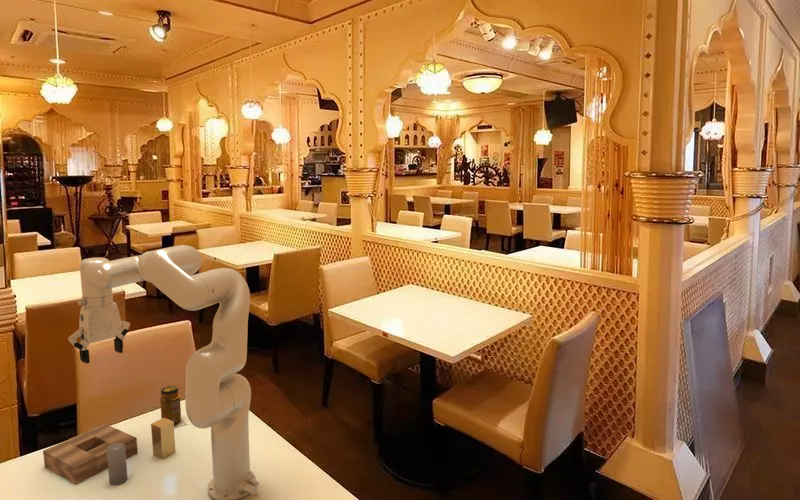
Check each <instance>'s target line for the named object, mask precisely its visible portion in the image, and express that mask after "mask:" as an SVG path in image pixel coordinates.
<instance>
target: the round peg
mask: <svg viewBox="0 0 800 500" xmlns="http://www.w3.org/2000/svg"><path fill="white" fill-rule="evenodd" d="M107 460H108V468H107V470H108V481H109V485H111V486H120V485H122V484H124V483H126V482H127V481H128V479H129V477H128V465H127V459H126V453H125V444H124V443H115V444H112V445H110V446H108V447H107Z"/></svg>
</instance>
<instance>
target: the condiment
mask: <svg viewBox="0 0 800 500" xmlns="http://www.w3.org/2000/svg"><path fill="white" fill-rule="evenodd" d="M159 403H160V416H161V417H160V419H162V418H166V419H169V420H171V421H174V429H176V428H179V427H183V426H185V425H187V422H186V421H185V420H184V418H183V417H182V410H181V409H182V407H181V395H180V394H179V388H178V386H176V385H167V386H165V387H164V386H163V388H161V390H160V399H159Z"/></svg>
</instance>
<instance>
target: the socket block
mask: <svg viewBox="0 0 800 500" xmlns="http://www.w3.org/2000/svg"><path fill="white" fill-rule="evenodd" d="M137 440H138V439H137V437H136V436H133V435H131V434H129V433H127V432H125V431H122V430H120V429H118V428H115V427H113V426H111V425H109V424H106V423H104V424H101V425H99V426H96V427H94V428H93V429H92V428H91V429H90V430H87V431H85V432H83V433H80V434H78V435H76V436H74V437H71V438H69V439H67V440H64V441H62V442H60V443H57V444H55V445H53V446H51V447H48V448H46V449H44V450H43V451H42V455H43V463H44V468H46V469H49V470H50V471H51V470H52V471H51V472H53V473H55V474H56V475H59V476H60V477H62V478H64V479H66V480H68V481H69V482H71V483H73V484H74V485H78V484H80V483H82V482H84V481H86V480H88V479H89V478H92V477H94V476H96V475H98V474H99V473H101V472H104V471H106V470H108V460H107V447H108V446H110V445H112V444H115V443H124V444H125V453H126V460H127V459H129V458H131V457H133V456H134V455H136V454H138V450H139V449H138V441H137Z"/></svg>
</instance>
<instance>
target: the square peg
mask: <svg viewBox="0 0 800 500" xmlns="http://www.w3.org/2000/svg"><path fill="white" fill-rule="evenodd" d="M150 427H151V429H150V430H151V441H152V442H151V443H152V455H153V456H155V457H156V458H159V459H161V460H163V459H165V458H167V457H170V456H171V455H173V454H175V453H176V439H175V438H176V437H175V435H176V434H175V428H174V421H171V420H169V419H166V418H162V419H161V418H159V419H158V420H156V421H154V422H152V423H150Z"/></svg>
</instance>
